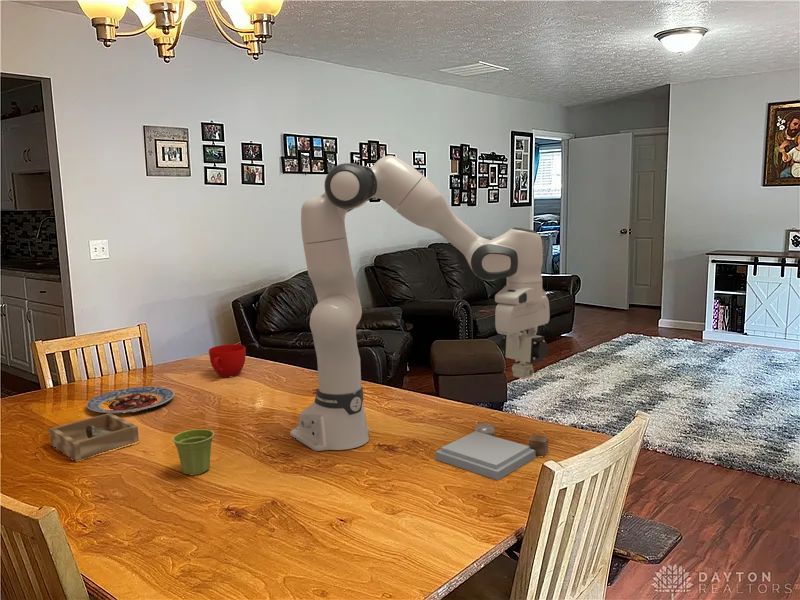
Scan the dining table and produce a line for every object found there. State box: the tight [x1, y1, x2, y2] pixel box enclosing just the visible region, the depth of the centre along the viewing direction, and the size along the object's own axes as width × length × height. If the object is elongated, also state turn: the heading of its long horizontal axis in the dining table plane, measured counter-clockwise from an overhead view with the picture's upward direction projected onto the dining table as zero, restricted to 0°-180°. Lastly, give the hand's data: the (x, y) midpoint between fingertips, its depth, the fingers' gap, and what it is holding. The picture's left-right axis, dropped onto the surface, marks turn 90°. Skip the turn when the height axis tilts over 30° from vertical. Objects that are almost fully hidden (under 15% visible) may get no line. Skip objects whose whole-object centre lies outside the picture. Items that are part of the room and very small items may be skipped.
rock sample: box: [85, 425, 113, 439], centre depth 170 cm, size 10×8×9 cm
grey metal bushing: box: [474, 423, 495, 437], centre depth 170 cm, size 5×5×2 cm
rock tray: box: [48, 413, 140, 462], centre depth 170 cm, size 17×16×5 cm
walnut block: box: [528, 434, 549, 458], centre depth 158 cm, size 4×4×4 cm
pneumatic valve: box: [499, 330, 549, 380], centre depth 163 cm, size 6×12×12 cm, turn 44°
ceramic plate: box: [86, 386, 175, 414], centre depth 204 cm, size 26×26×3 cm
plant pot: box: [172, 428, 215, 475], centre depth 152 cm, size 9×9×9 cm
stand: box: [435, 430, 536, 481], centre depth 155 cm, size 18×16×3 cm
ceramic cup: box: [208, 343, 247, 378], centre depth 233 cm, size 13×17×10 cm
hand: (523, 346), depth 164 cm, fingers closed on pneumatic valve, 5 cm apart
